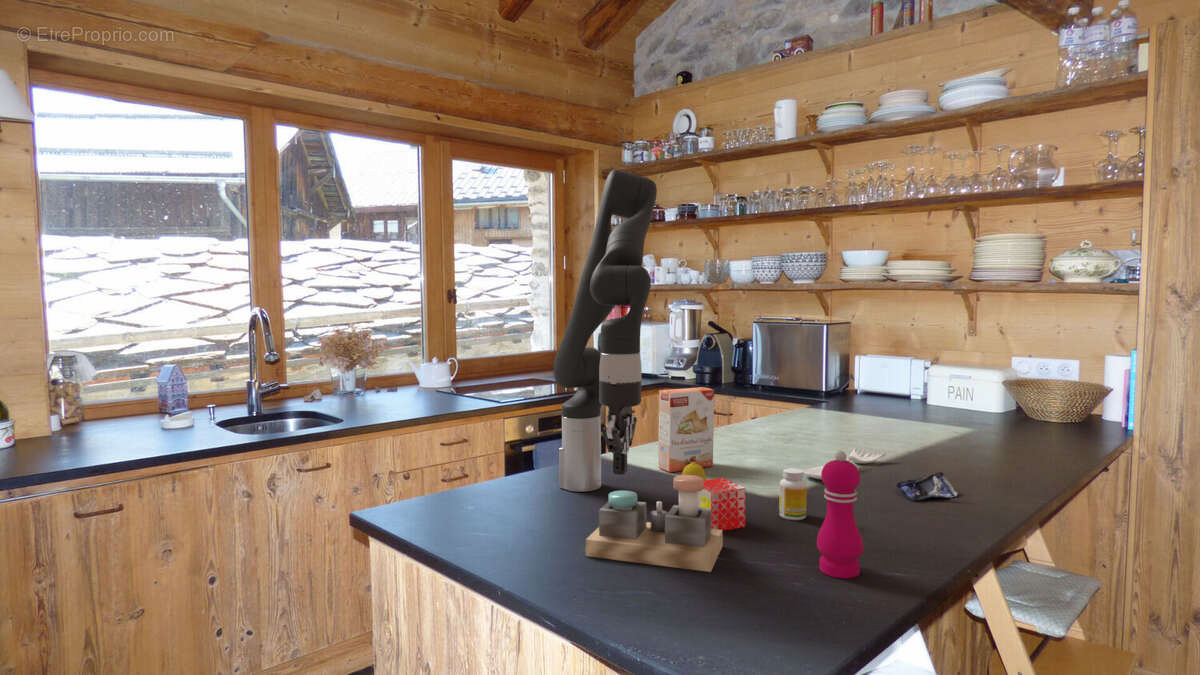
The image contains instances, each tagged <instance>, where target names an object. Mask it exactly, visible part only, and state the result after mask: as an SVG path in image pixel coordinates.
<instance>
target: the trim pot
mask: <svg viewBox="0 0 1200 675" xmlns="http://www.w3.org/2000/svg"><path fill="white" fill-rule="evenodd" d="M668 512H669V511H666V510H663V501H660V500H659V501H656V510H651V511H650V522H651V530H652V531H654V532H665V516H666V515H667V513H668Z"/></svg>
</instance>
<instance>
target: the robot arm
mask: <svg viewBox="0 0 1200 675" xmlns="http://www.w3.org/2000/svg"><path fill="white" fill-rule="evenodd" d="M603 186H604V187H603V191H602V195H601V198H600V204H599V209H598V212H597V213H598V214H597V217H596V223H595V226H594V227H595V228H594V232H593V235H592V240H591V243H590V247H589V249H588V250H589V251H588V253H587V256H586V260H585V264H584V266H583V270H582V272H581V275H580V279H579V283H578V286H577V292H576V296H575V299H574V303H573V307H572V310H571V314H570V317H569V320H568V324H567V326H566V329H565V331H564V334H563V337H562V339H561V341H560V344H559V347H558V349H557V352H556V355H555V358H554V363H553V376H554V380H555V382H556V384H557V385H558V386H559V387H560V388H564V389H575V388H577V390H576V392H575V393H574V395H573V396H572V397H571V398H569V399H567V400H566V401H565V402H563V403H562V404H561V405H562V406H561V447H559V449H558V471H559V472H558V473H559V479H558V480H559V482H558V484H559V489H564V490H566V491H569V492H570V491H571V492H580V493H581V492H583V493H585V492H593V491H596V490H598V489H600V488H601V487H602V454H601V453H602V444H601V443H602V440H601V438H602V436H603V439H604V443H605V446H606V449H607V452H608V453H611V454H613V455H612V472H613V474H614V475H618V476H619V475H620V476H623V475H625V474H626V473H627V472H628V453H629V451H630V448H631V447H632V446H633V442H634V441H633V440H634V436H635V432H636V431H635V430H636V427H637V426H636V424H637V422H638V420H637V416H634V414H633V407H637V406H639V405H641V404H642V361H641V329H642V321H643V317H644V316H643V315H644V311H645V307H646V304H647V301H648V297H649V294H650V291H651V287H652V286H651V285H652V280H651V276H650V273H649V271H648V270H647V269H646V268H645V267H643V260H644V249H645V241H646V238H647V237H646V236H647V233H648V230H649V228H650V223H651V221H652V216H653V214H654V209H655V206H656V205H655V204H656V200H657V195H658V194H657V192H658V190H657V189H658V188H657V184H656V182H655V181H654V180H652V179H650V178H648V177H646V176H641V175H637V174H635V173H631V172H628V171H624V170H621V169H612V170H611V171H610V172H609V174H608V175H607V178H606V180H605V183H604V185H603ZM613 216H617V217H621V218H623V219H624V218H625V220H624V221H622V222H620V223H619V224H618V225H617V226H615V227H614V228H613V229H612V217H613ZM616 306H629V310H628V311H627V313H626V314H625V315H623V316H620V317H617V318H616V317H615V318H611V319H607V318H608V316H609V315H610V314H611V312H612V311H613V310H614V309H615V307H616ZM606 319H607V320H606ZM599 327H600V351H599V350H598V349H596V348H595V347H587V345H588V342H589V341H590V338H591V337H592V335H593V334H594V332H595V331H596V330H598V328H599ZM602 406H605V407H608V411H607V412H608V414H607V415H606V426H607V427H603V428H602V431H601V427H602V426H601V424H602V423H601V409H602ZM601 434H602V436H601Z"/></svg>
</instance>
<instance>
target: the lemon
mask: <svg viewBox="0 0 1200 675" xmlns="http://www.w3.org/2000/svg"><path fill="white" fill-rule="evenodd" d="M681 472H682V473H681V475H695V476H699V477H702V478H703V481H704V480H707V477H706V476H707V475H706V472H705V470H704V468H702V467H701V466H700V465H698V464H696V463H695V462H692V463H691V464H689V465H687V466H686V467H685V468H684V469H683V471H681Z"/></svg>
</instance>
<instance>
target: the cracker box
mask: <svg viewBox="0 0 1200 675" xmlns="http://www.w3.org/2000/svg"><path fill="white" fill-rule="evenodd" d="M658 396H659V398H658V469H661V470H663V471H665V472H668V473H675V472H683V469H684V468H685V467H686V466H687V465H689V464H691V463H692V462H695V463H696V464H698V465H700V466H701V467H702V468H703V469H704V467H705V468H711V467H710V466H712V467H714V432H715V430H714V422H715V415H714V414H715V413H714V412H715V390H714V389H712V388H709V387H704V386H702V387H700V386H699V387H689V388H688V387H686V388H674V389H671V388H670V389H663V390H662V389H661V390H660V389H659V391H658Z"/></svg>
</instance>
